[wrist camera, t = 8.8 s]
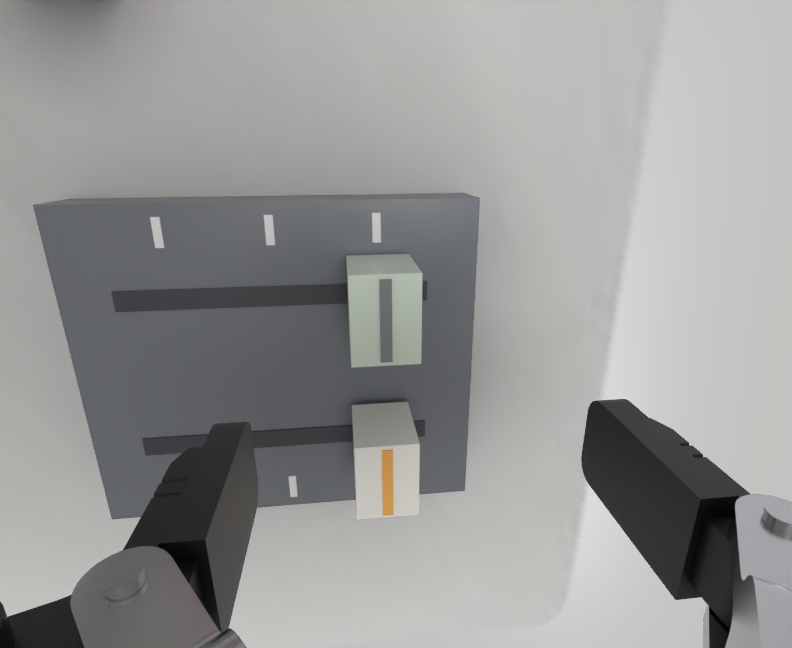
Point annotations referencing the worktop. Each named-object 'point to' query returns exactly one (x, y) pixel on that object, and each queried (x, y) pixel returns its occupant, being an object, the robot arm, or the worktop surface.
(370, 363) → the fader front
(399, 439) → the block
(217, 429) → the robot arm
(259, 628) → the worktop surface
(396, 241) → the fader board
